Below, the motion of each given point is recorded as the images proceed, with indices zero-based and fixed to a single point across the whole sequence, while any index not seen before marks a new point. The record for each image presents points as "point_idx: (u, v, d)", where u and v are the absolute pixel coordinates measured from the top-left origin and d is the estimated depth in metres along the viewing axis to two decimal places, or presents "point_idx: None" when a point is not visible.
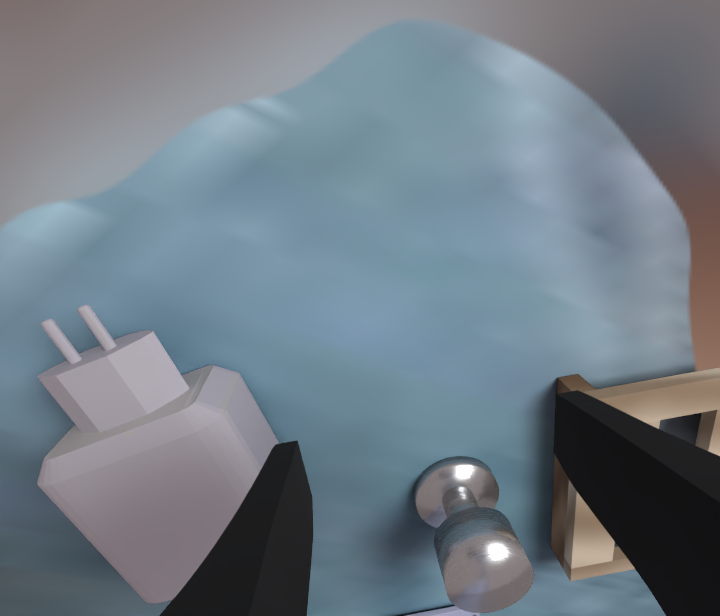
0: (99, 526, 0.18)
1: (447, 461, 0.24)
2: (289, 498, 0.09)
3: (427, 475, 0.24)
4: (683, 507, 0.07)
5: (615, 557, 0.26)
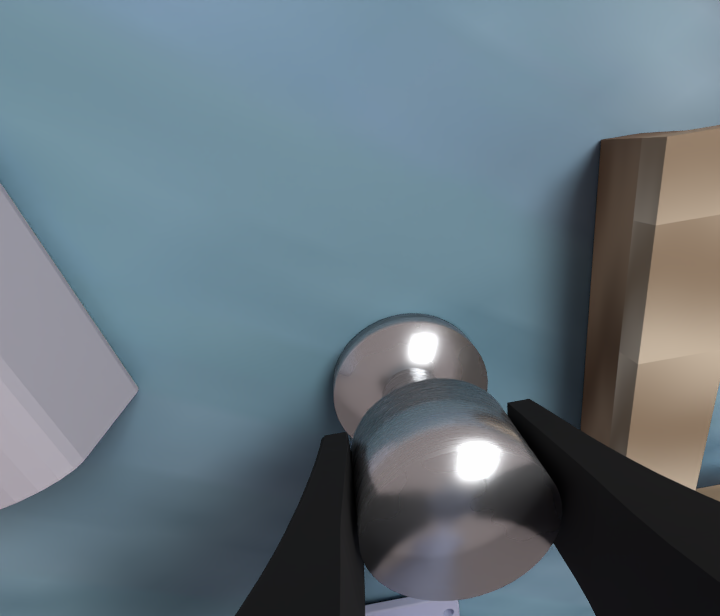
0: None
1: (390, 319, 0.13)
2: (348, 487, 0.09)
3: (352, 346, 0.13)
4: (610, 521, 0.07)
5: None
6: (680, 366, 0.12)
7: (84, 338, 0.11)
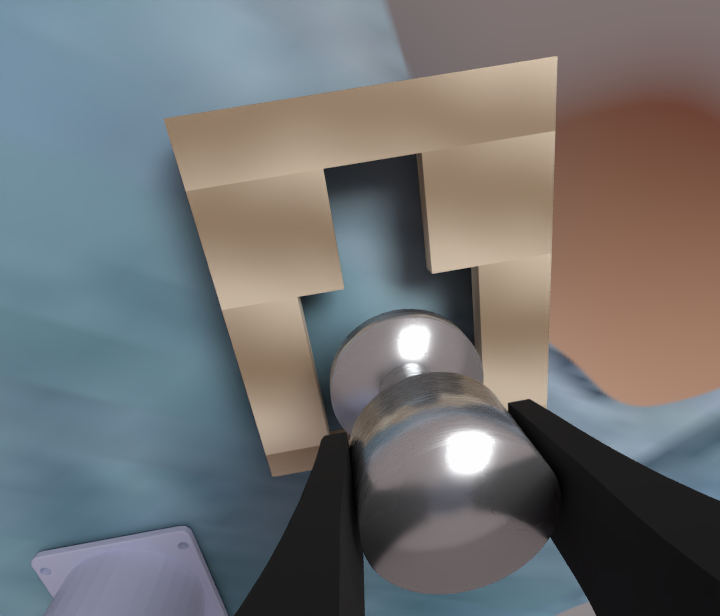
0: None
1: (385, 316, 0.13)
2: (347, 487, 0.09)
3: (347, 343, 0.13)
4: (611, 520, 0.07)
5: None
6: (261, 312, 0.14)
7: None
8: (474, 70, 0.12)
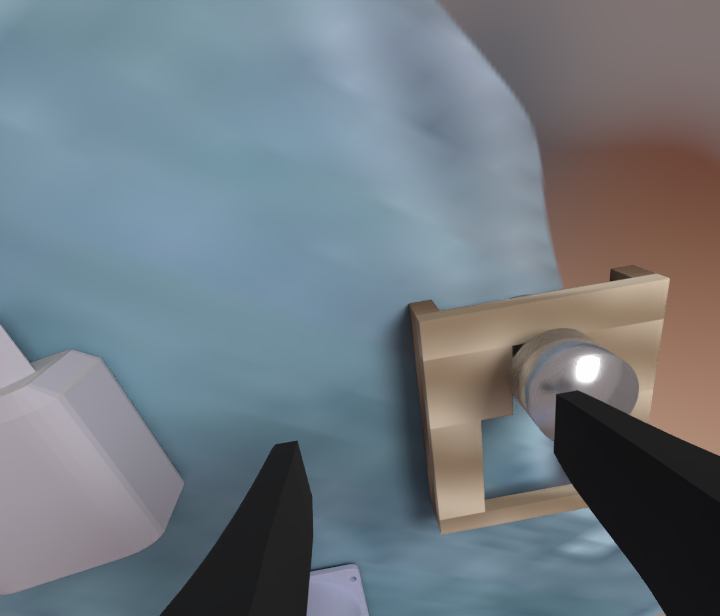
0: None
1: None
2: (289, 497, 0.09)
3: None
4: (683, 507, 0.07)
5: (489, 508, 0.23)
6: (456, 430, 0.21)
7: (160, 462, 0.22)
8: (616, 288, 0.19)
